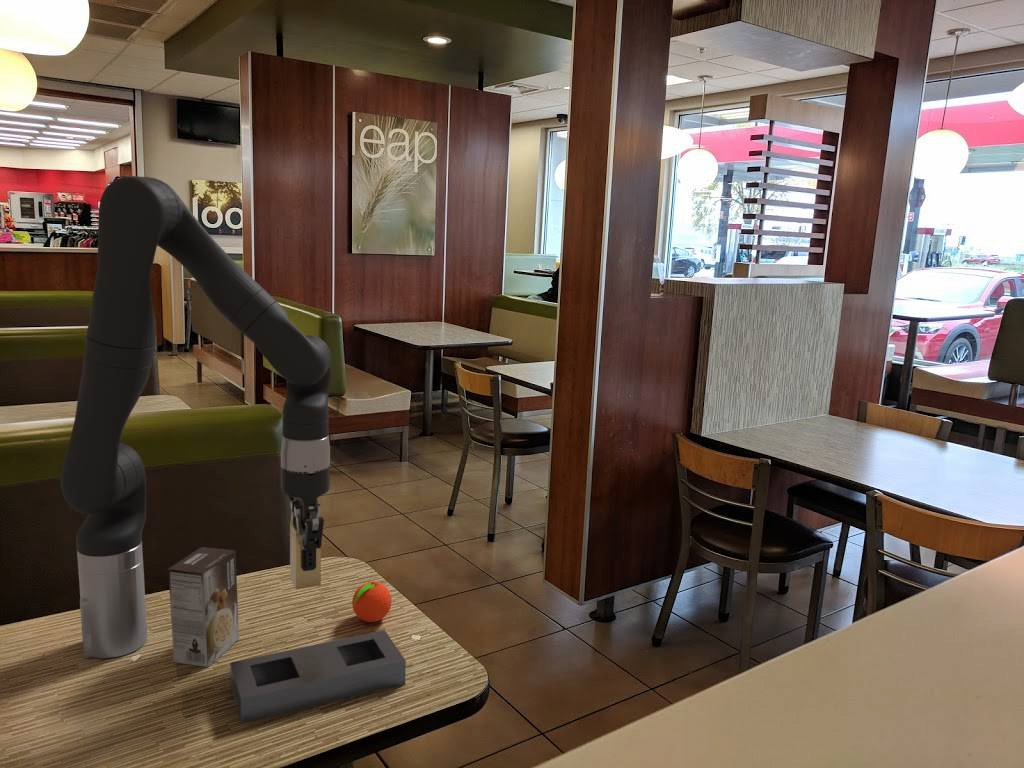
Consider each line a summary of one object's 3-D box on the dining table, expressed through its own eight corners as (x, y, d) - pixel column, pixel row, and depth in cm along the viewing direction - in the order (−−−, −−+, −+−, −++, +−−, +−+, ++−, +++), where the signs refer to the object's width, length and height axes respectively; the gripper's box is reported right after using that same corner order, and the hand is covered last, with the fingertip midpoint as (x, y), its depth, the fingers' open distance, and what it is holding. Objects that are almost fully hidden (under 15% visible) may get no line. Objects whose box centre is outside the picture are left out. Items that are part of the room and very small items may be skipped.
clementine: (368, 636, 132) (369, 597, 131) (339, 624, 136) (339, 586, 134) (399, 617, 139) (400, 581, 137) (370, 606, 142) (370, 570, 141)
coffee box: (205, 634, 130) (202, 545, 127) (240, 639, 129) (237, 549, 126) (171, 663, 122) (167, 567, 118) (208, 668, 120) (204, 573, 117)
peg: (295, 589, 123) (295, 530, 121) (290, 579, 127) (290, 521, 125) (320, 585, 125) (321, 527, 123) (314, 575, 129) (314, 518, 127)
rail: (241, 724, 107) (240, 698, 106) (231, 686, 116) (230, 662, 115) (405, 684, 118) (405, 660, 118) (384, 652, 127) (384, 629, 126)
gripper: (272, 452, 126) (272, 550, 130) (291, 478, 114) (291, 586, 117) (318, 448, 130) (317, 544, 133) (341, 473, 118) (340, 578, 121)
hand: (305, 563), depth 125 cm, fingers closed on peg, 4 cm apart
